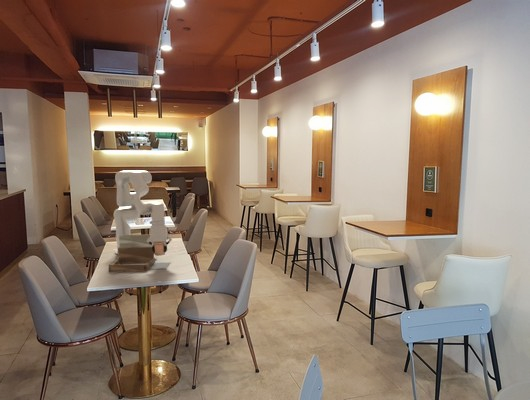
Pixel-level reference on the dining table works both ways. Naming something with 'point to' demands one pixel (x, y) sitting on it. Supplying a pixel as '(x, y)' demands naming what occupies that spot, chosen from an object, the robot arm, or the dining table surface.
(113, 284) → the dining table surface
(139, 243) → the box
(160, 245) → the terracotta pot
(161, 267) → the slate mat
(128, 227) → the robot arm
